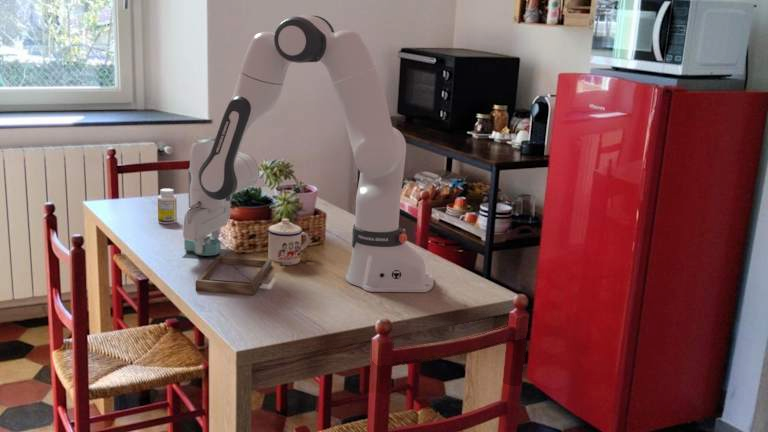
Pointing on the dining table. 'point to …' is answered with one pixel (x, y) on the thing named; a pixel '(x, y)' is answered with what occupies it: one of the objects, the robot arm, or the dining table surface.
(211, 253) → the teal ring
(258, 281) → the walnut tray
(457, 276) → the dining table surface
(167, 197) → the supplement bottle
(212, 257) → the post stand
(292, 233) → the teacup with lid
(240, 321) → the dining table surface
